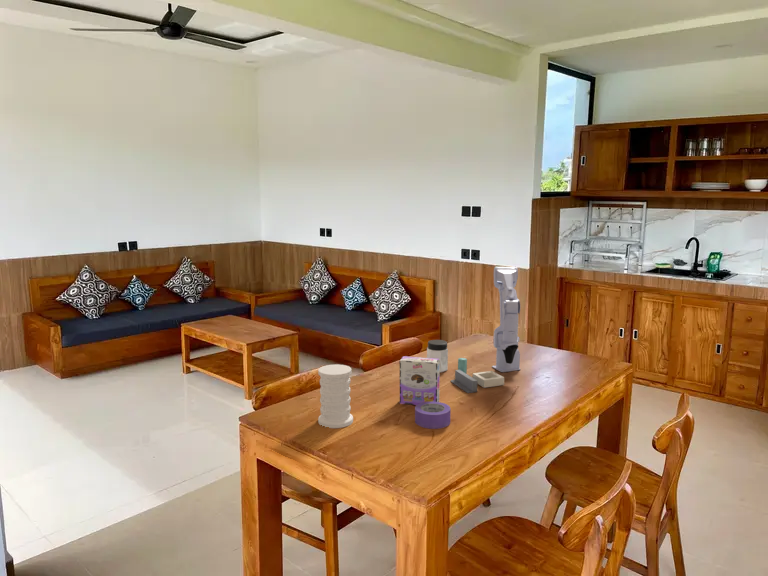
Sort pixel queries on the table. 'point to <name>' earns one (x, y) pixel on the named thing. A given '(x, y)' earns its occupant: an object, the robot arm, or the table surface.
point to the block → (488, 379)
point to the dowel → (462, 364)
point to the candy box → (419, 380)
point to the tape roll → (432, 415)
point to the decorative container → (335, 396)
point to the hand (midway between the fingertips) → (509, 363)
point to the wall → (465, 382)
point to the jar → (438, 352)
